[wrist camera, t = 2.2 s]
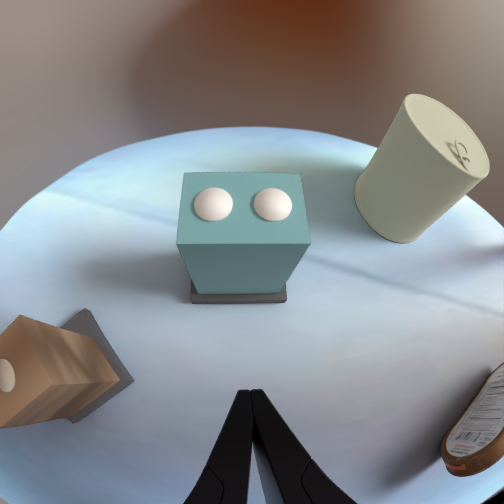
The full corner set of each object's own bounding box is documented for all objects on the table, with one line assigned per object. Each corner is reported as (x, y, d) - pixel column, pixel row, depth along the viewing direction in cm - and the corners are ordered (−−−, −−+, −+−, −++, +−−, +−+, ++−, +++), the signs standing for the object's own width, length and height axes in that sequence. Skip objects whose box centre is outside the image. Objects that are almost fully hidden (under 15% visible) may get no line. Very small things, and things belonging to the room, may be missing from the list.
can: (358, 237, 24) (428, 153, 13) (348, 162, 28) (391, 76, 17) (431, 248, 25) (507, 187, 14) (415, 179, 28) (467, 111, 17)
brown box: (120, 380, 17) (49, 384, 9) (72, 415, 15) (-3, 429, 7) (92, 337, 18) (18, 314, 10) (48, 374, 16) (-29, 366, 8)
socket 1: (134, 381, 18) (130, 381, 17) (78, 421, 16) (72, 423, 15) (89, 310, 20) (84, 308, 19) (39, 353, 18) (33, 352, 17)
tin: (430, 469, 16) (487, 486, 8) (421, 452, 16) (481, 468, 9) (503, 372, 19) (554, 361, 12) (497, 353, 20) (549, 340, 13)
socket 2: (284, 302, 22) (286, 299, 21) (192, 303, 21) (190, 300, 20) (278, 223, 24) (280, 218, 23) (195, 223, 24) (194, 217, 23)
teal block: (278, 293, 21) (311, 242, 12) (198, 293, 20) (175, 242, 12) (275, 244, 22) (300, 172, 14) (200, 244, 22) (183, 170, 13)
